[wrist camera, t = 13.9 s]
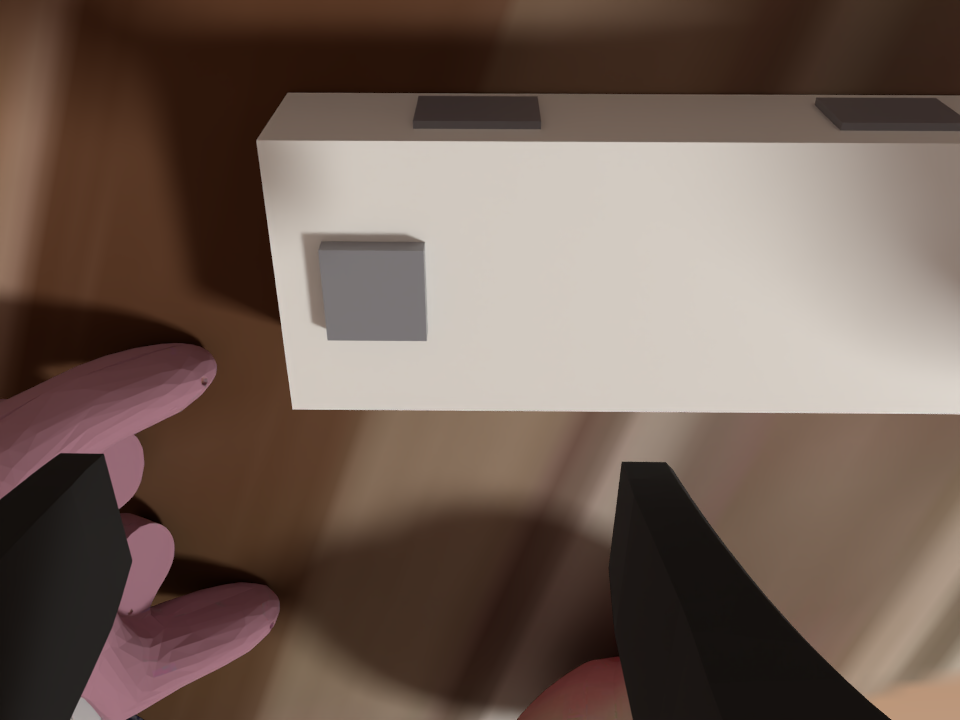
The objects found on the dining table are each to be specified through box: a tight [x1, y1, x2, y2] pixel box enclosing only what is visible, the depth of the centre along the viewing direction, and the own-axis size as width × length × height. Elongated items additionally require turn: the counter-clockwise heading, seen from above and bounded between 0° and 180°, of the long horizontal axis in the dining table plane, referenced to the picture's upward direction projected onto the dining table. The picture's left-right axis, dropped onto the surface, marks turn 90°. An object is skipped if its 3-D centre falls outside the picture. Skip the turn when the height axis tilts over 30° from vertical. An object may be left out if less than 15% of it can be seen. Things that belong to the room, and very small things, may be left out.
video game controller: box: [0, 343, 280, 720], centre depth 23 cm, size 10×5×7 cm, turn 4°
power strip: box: [256, 93, 960, 414], centre depth 19 cm, size 16×6×3 cm, turn 90°
